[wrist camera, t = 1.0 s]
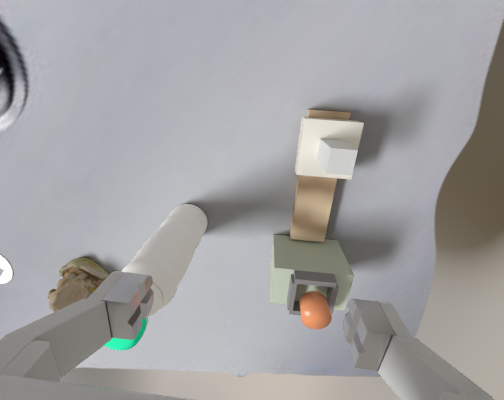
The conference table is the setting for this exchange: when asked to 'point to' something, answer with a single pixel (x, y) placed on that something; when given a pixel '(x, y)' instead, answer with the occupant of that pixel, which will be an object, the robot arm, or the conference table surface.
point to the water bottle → (166, 260)
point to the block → (314, 196)
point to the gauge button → (314, 310)
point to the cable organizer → (5, 270)
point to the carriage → (328, 147)
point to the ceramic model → (76, 283)
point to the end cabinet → (308, 272)
